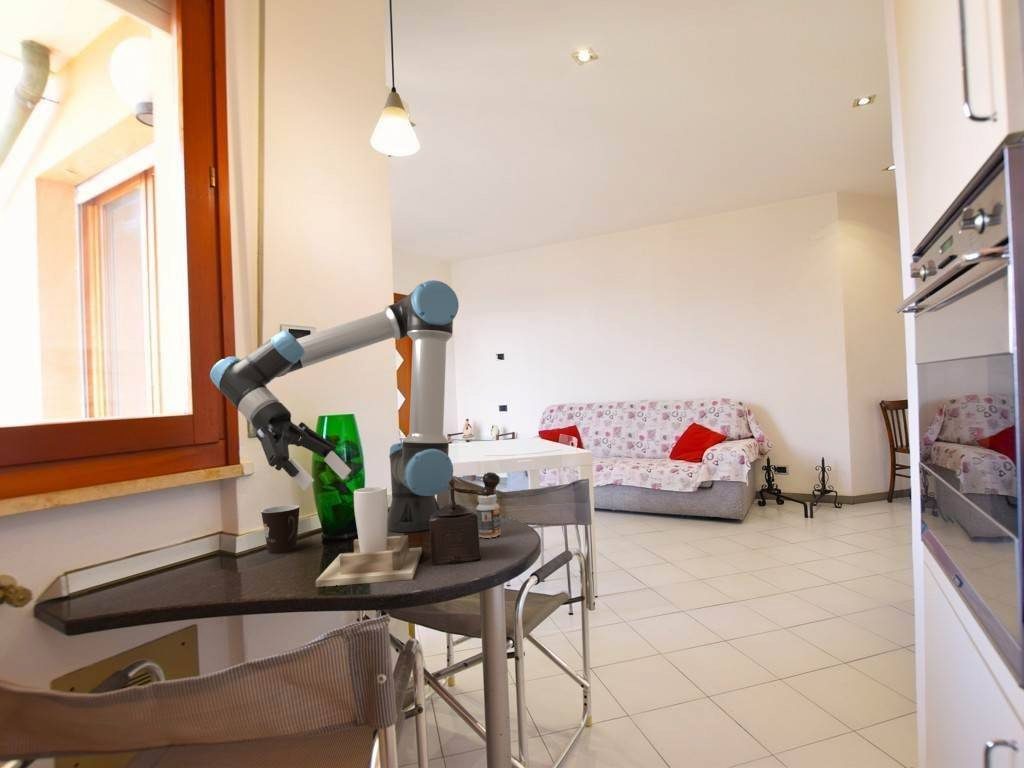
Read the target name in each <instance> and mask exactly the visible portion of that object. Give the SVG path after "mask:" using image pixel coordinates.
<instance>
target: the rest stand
mask: <svg viewBox="0 0 1024 768" xmlns="http://www.w3.org/2000/svg"><path fill="white" fill-rule="evenodd" d="M409 545H410V544H409V535H405V534H404V535H394V536H387V551H378V552H365V553H360V547H359V540H358V538H356V539H354V540H353V552H344V553H339V554H338V556H337V557H335V559H334V560H333V561H332V562H331V563H330V564H329V565H328V566H327V568H325V570H323V572H322V573H321V574H320V575H319V576H318V577H317V578H316V580H315V588H322V587H323V588H324V586H325V587H334V586H336V585H337V586H347V585H358V584H371V583H382V582H395V581H397V582H398V581H408V580H414V575H415V573H416V570H417V567H418V565H419V561H420V559H421V556H422V553H423V550H422V549H423V548H422V547H421V546H419V547H410V546H409Z"/></svg>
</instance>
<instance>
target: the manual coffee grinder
mask: <svg viewBox="0 0 1024 768" xmlns="http://www.w3.org/2000/svg"><path fill="white" fill-rule="evenodd" d="M500 482H501V479H500V476H499V475H498V474H497V473H495V472H492V471H491V472H486V473H484V474H483V476H482V483H483V484H484V486H483V487H484V488H483V490H482V491H480V490H476V489H468V488H467V489H466V488H458V487H456V486H455V480H454V479H453V478H452V479H451V480H450V481H449V485H448V490H449V491H450V492H449V493H450V494H449V495H450V497H449V498H450V502H449V504H446V505H444V506H443V507H440V510H435V511H431V513H430V519H429V523H430V529H429V534H430V549H431V551H430V552H431V553H430V554H431V557H430V559H431V560H430V563H431V565H432V566H438V565H439V564H441V565H450V564H449V563H452V564H460V563H464V562H473V561H478V560H481V559H482V558H481V557H482V554H481V547H480V546H481V545H480V537H479V530H478V515H477V511H476V508H475V507H467V506H466V505H464V504H460V503H457V502H456V498H455V492H456V493H460V494H461V493H463V494H469V495H470V494H471V495H478V496H480V495H482V496H487V497H488V496H490V495H496V491H495V490H496V487H497V486H498V485H499V484H500ZM459 562H460V563H459ZM439 566H440V565H439Z"/></svg>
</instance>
